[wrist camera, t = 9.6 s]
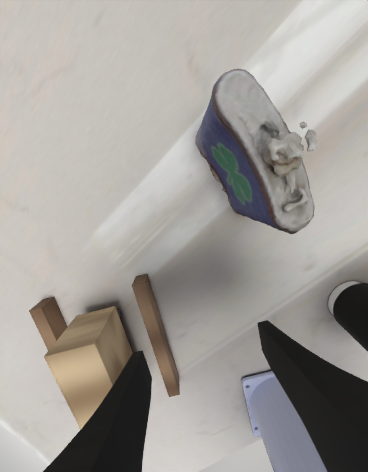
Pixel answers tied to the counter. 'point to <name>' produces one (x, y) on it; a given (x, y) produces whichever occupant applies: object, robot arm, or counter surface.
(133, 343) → the counter surface
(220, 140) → the flask
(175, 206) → the counter surface
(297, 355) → the robot arm
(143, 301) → the peg frame
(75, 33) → the counter surface
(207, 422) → the counter surface
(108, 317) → the light wooden block
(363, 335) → the dixie cup
